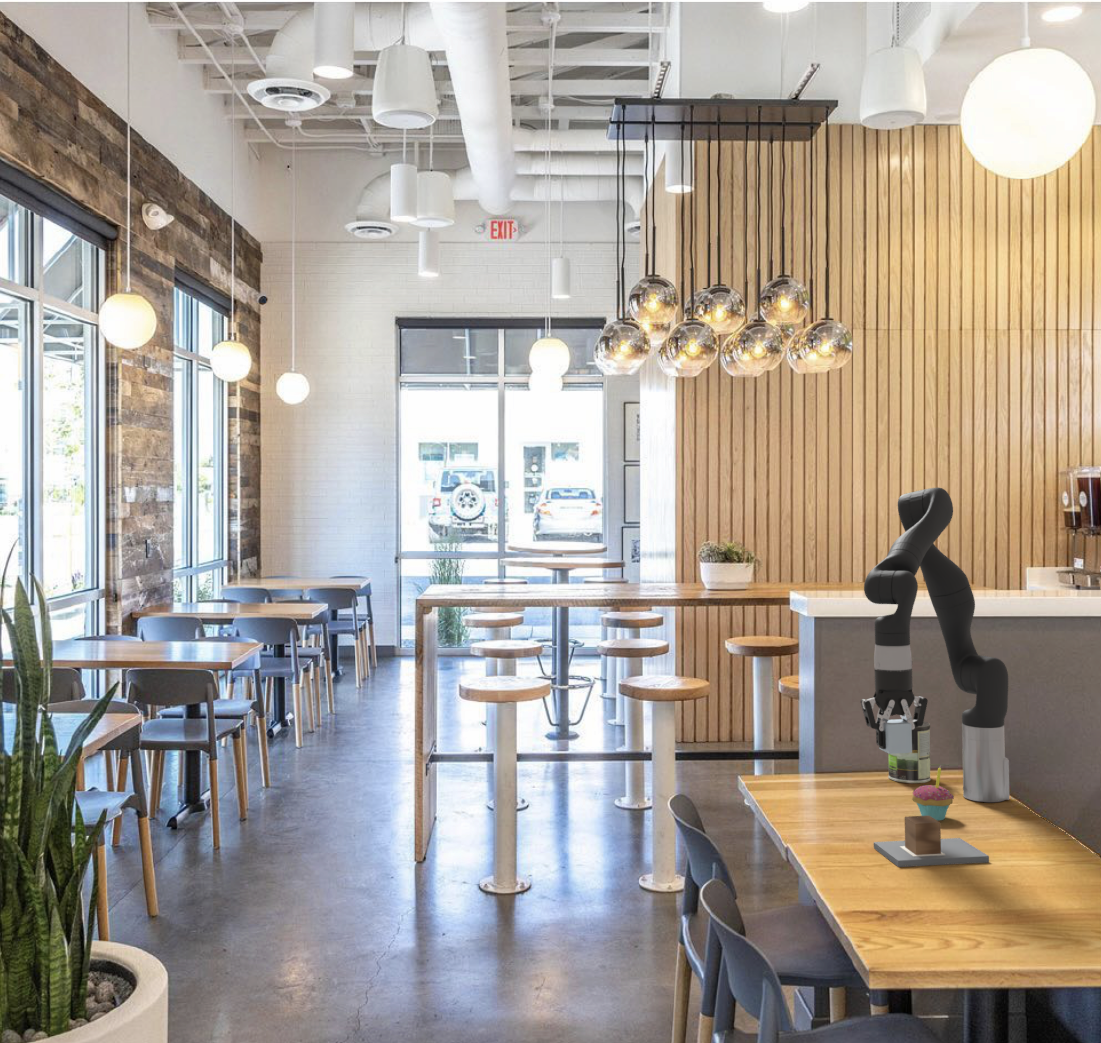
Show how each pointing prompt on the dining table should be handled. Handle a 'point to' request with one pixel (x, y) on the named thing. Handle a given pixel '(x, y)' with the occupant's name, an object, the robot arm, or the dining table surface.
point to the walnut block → (922, 835)
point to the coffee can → (913, 759)
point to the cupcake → (933, 799)
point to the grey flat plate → (950, 854)
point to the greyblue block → (898, 737)
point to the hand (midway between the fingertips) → (895, 747)
